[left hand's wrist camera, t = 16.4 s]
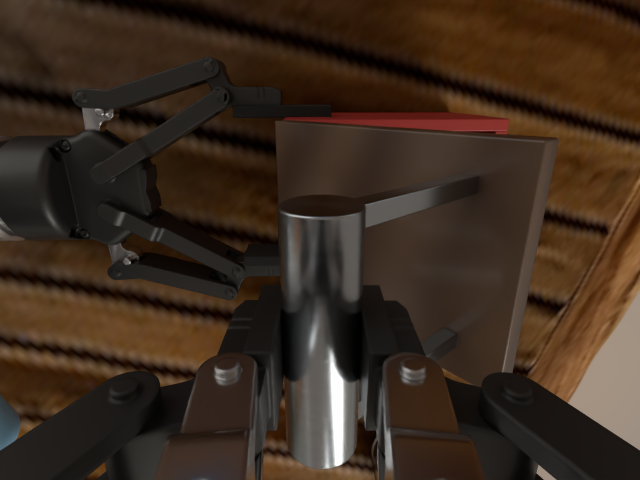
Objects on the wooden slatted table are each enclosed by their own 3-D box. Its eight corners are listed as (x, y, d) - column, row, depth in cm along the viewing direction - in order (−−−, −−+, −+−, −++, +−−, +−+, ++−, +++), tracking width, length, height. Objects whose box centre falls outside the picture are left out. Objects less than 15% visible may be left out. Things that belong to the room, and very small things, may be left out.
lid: (560, 137, 13) (363, 172, 7) (510, 386, 16) (349, 551, 10) (289, 119, 23) (117, 128, 17) (293, 274, 27) (151, 325, 21)
